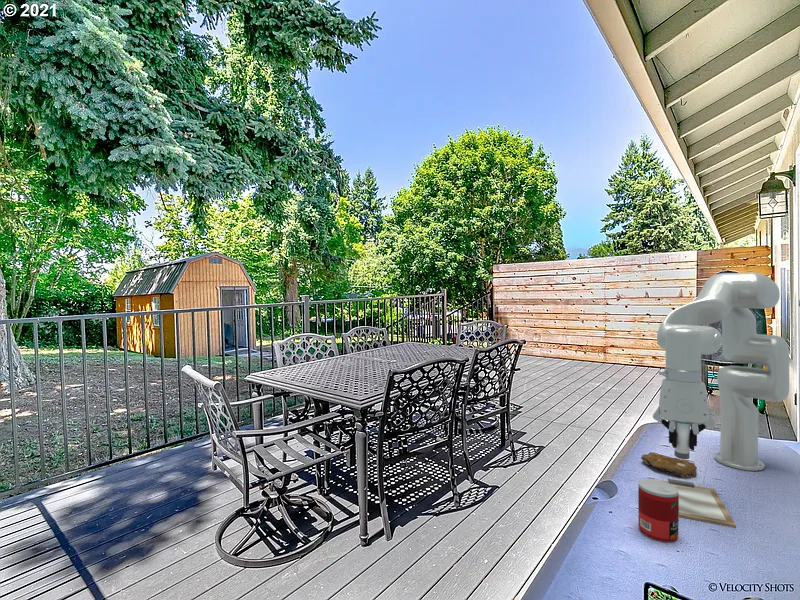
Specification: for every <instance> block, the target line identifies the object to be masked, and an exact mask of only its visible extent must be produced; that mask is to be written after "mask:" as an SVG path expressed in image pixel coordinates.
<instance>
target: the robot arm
mask: <svg viewBox="0 0 800 600" xmlns="http://www.w3.org/2000/svg"><path fill="white" fill-rule="evenodd" d="M780 295H781V294H780V289H779V286H778V284H777V283H776V281H774V280H773V279H771V278H769V277H768V276H767V275H765V274H763V273H759V272H754V271H752V272H724V273H717V274H716V273H715V274H714V275H710V276H709V277H708V279H707V280H706V281H705V283H704V284H703V286H702V287H701V290H700V291H699V293H698V295H697V297H696V298H695V300H693V301H690V302H688V303H685V304H684V305H682V306H679V307H677V308H675V309H673V310H671V311H670V312H668V313H667V315H665V317H664V318H663V320H662V322H661V323H660V325H659V327H658V330H657V332H656V342H657V345H658V346H659V347H660V348H661V349H662V350H663V351H665V367H664V368H663V369H659V370H658V375H659V376H662V377H664V378H663V379H662V382H661V385H660V391H659V398H658V399H659V400H658V404H659V405H658V407H657V409H656V410H655V412H654V413H653V414H652V418H653V419H654V420H655V421H657V422H658V423H660V424H662V425H663V426H664V427H665V428H666V429H667V430H668V443H669V444H671V446H672V448H674V449H675V448H677V433H676V432H675V422H676V421H678V422H687V423H690V450H691V451H695V447H697V446H698V435H699V434H700V433H701V432H702V431H704V430H706V428H710V427H713V426H715V425H716V423H715V422H714V421H715V420H714V419H713V418H712V416H711V415H710V412H709V411H710V410H709V399H708V392H707V386H706V384H705V382H703V381H702V355H705V356H706V355H708V356H709V355H714V354H715V353H717V352H719V350H720V349H721V348H722V352H723V353H722V354H723V357H724V358H725V359H726V360H728V361H730V362H735V363H742V364H750V365H760V366H765V367H766V368H757V367H750V366H743V365H742V366H741V365H726V366H723V367H722V368H720V369H719V370H718V371H717V376H716V377H717V378H716V379H717V387H718V392H719V397H720V398H719V399H720V433H719V434H720V436H719V437H720V438H719V439H720V447H719V448H720V452H716V453H715V454H714V460H716V462H718V463H720V464H722V465H724V466H727V467H730V468H732V469H733V468H734V469H738V470H742V471H751V472H752V471H754V472H757V471H758V470H759V471H762V469H763V470H764V469H765V463H764V462H763V461H762V460H760V459H759V411H758V408H757V406H756V405H755V404H754V402H752V400H751V399H758V400H764V401H770V402H784V401H785V400H786V399H788V396H789V394H790V393H789V392H790V352H789V351H790V349H789V346H788V345H789V344H788V342H787V341H786V340H785V338H783V337H782V336H780V335H779V336H778V335H775V334H774V335H773V334H760V333H758V332H757V319H756V316H755V315H754V313H753V312H752V311H751V310H750V309H758V310H759V309H762V310H763V309H764V310H766V309H772V308H774V307H776V305H777V304H778V303H779V300H780ZM718 322H721V326H722V329H721V330H722V331H721V332H720V330H719V329H717V328H716V327H713V326H708V325H711V324H714V323H718Z"/></svg>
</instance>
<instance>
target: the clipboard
mask: <svg viewBox="0 0 800 600" xmlns="http://www.w3.org/2000/svg"><path fill="white" fill-rule="evenodd" d="M647 479H651V477H650V478H649V477H648V478H647ZM652 479H653V480H657V479H655V478H652ZM658 480H659V481H663V482H666V483H668V484H671V485H673V486H674V487H676V488H677V489H678V493H679V518H683V519H689V520H694V521H698V522H704V523H709V524H714V525H720V526H725V527H729V528H737V526H736V525H737V524H736V523H735V521H734V519H733V518H732V516H731V515H730V513H729V510H727V508H726V506H725V505H724V502H723V501H722V499H721V497H720V496H719V495H718V493H717V491H716V490H715V488H712V487H705V486H701V485H699V486H698V485H695V484H694V482H692V481H686V480H679V479H674V478H668V479H667V480H662V479H658Z"/></svg>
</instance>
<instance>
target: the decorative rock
mask: <svg viewBox="0 0 800 600" xmlns="http://www.w3.org/2000/svg"><path fill="white" fill-rule="evenodd" d="M640 459H641V461H643V463H644V464H645V465H647V466H652V467H653V468H656V469H657V470H660V471H662V472H666V471H667V472H670V473H672V474H676V475H678V476H679V477H681V478H683V479H685V478H693V479H695V478H697V477H696V475H697V467H698V466H696V464H695V462H691V461H689V460H688V459H680V458H677V457H673V456H672V457H671V456H667V455H663V454H660V453H658V452H653V451H652V452H649V453H648V454H642V455H641V456H640Z"/></svg>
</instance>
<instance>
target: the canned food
mask: <svg viewBox="0 0 800 600" xmlns="http://www.w3.org/2000/svg"><path fill="white" fill-rule="evenodd" d="M653 479H654V478H650V479H648V478H647V479H645V478H644V479H641V480H639V481H638V491H637V492H638V495H637V496H638V497H637V499H638V501H637V503H638V528H639V531H640V532H641V533H642V534H643V535H644V536H647V537H648V538H650V539H653V540H656V541H660V542H663V543H673V542H675V541H677V539H678V537H679V525H680V524H679V520H680V519H679V518H680V517H679V493H678V489H677V488H676V487H674V486H673V485H671V484H668V483H666V482H663V481H664V480H662V481H659V480H660V479H656V480H653Z"/></svg>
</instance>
